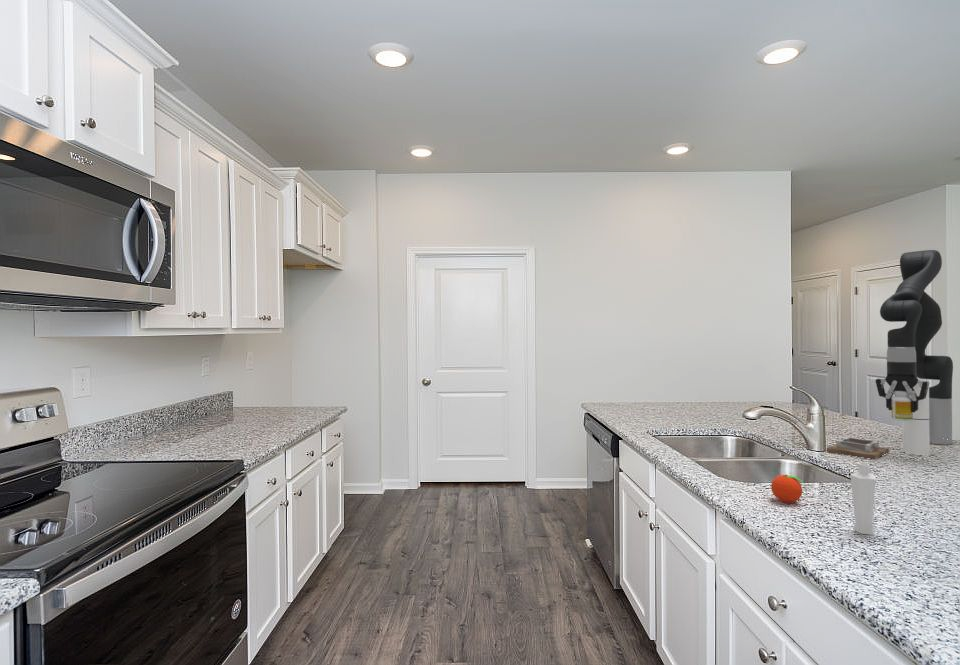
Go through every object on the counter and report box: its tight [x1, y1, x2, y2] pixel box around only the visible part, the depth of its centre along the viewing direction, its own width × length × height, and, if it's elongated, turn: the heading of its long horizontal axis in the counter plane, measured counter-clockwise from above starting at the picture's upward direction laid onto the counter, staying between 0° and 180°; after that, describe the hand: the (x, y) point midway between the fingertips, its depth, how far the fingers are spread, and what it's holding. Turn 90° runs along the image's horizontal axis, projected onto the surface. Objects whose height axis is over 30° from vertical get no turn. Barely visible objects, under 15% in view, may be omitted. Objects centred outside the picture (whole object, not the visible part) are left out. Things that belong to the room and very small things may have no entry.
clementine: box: [770, 474, 808, 504], centre depth 130 cm, size 8×7×7 cm
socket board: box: [826, 436, 890, 460], centre depth 179 cm, size 15×14×4 cm
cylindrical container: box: [901, 383, 931, 456], centre depth 176 cm, size 7×7×25 cm
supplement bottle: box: [891, 390, 913, 422], centre depth 167 cm, size 5×5×10 cm
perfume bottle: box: [850, 462, 876, 536], centre depth 111 cm, size 5×4×15 cm
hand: (901, 410), depth 167 cm, fingers closed on supplement bottle, 5 cm apart
